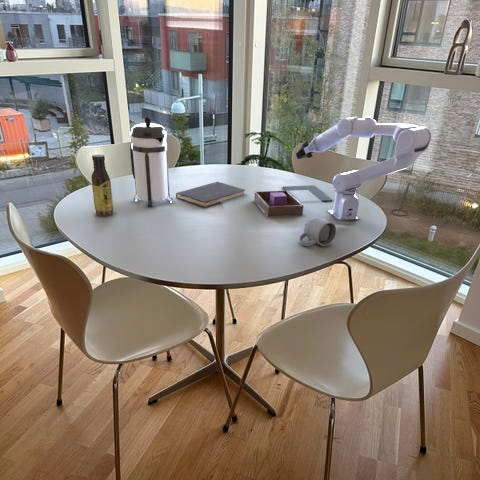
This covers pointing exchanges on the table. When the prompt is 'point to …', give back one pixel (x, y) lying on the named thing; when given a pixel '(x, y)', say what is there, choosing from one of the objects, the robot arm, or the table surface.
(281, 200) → the block
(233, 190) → the hardcover book
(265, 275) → the table surface
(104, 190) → the sauce bottle
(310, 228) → the ceramic mug
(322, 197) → the mat
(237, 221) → the table surface
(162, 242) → the table surface
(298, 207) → the brown wooden tray
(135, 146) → the coffee press
